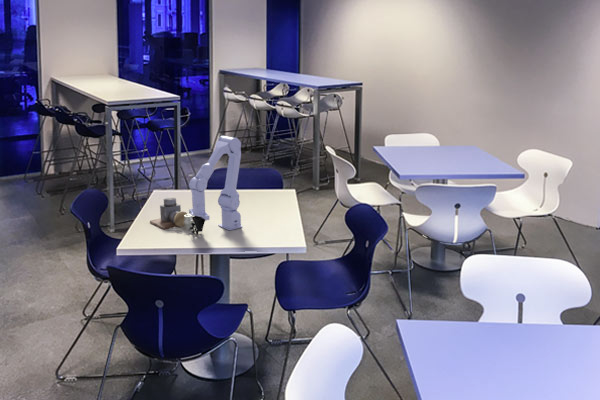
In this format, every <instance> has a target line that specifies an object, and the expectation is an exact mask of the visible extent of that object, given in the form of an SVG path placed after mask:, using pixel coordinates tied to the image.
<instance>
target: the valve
mask: <svg viewBox="0 0 600 400" xmlns="http://www.w3.org/2000/svg"><path fill="white" fill-rule="evenodd" d="M192 217H193V216H192V215H191V214H190V213H187V215H184V219H185V220H184V224H185V225H184V229H185V230H191V233H192V234H194V233H195V234H196V235H198V234H199V232H198V231H197V229H196V225H195V223H194V222H193V221H192Z"/></svg>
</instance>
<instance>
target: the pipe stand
mask: <svg viewBox="0 0 600 400" xmlns="http://www.w3.org/2000/svg"><path fill="white" fill-rule="evenodd" d="M181 207H182V206H181V204H179V203H177V198H176V197H166V198H164V199H163V204H160V205H159V209H160V210H159V212H160V218H157V219H152V220H149V223H150V224H152V225H154V226H155V227H158V228H160V229H162V230H168V229H172V228H177V227H178V228H179V227H180V228H185V226H184V225H185V224H184V220H185V219H184V215H187V214H188V213H187V212H186V211H181V210H182V209H181ZM192 221H193V219H192ZM193 222H194V221H193Z"/></svg>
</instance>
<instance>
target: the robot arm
mask: <svg viewBox="0 0 600 400" xmlns="http://www.w3.org/2000/svg"><path fill="white" fill-rule="evenodd" d="M241 147H242V142H241V140H240V139H239V138H237V137H232V136H226V135H220V136H219V138H218V140H217V141H216V142H215V147H214V150H213V152H212V153H211V154H210V157H209V159H208V160H207V162H206V163H203V164H202V165H201V166H200V169H199V170H198V172H197V173H196V175H195V176H193V178H191V179H190V180H189V183H188V187H189V189H190V190H191V196H192V197H191V201H192V208H189V209H188V214H190V215H192V219H193V221H194V223H195V225H196V230H197V231H198V233H200V232H203V229H204V226H205V222H206V221H209V220H210V215H209V214H208V213H207V212H206V199H205V198H206V197H205V194H206V193H205V191H206V189H207V187H208V182H209V179H210V178H211V176H212V175H213V173H214V172H215V171H214V170H215V169H214V167H215V166H216V165H217V163H218V161H220V159H221V157H222V156H223V155H225V154H227V156H228V163H227V169H226V177H225V182H224V188H223V189H222V190H221V191H220V193H219V196H218V199H217V203H218V205H219V206H220V208H221V223H220V224H218V227H221V228H222V229H224V230H228V231H233V230H236V229H240V228H243V225H242V219H241V213H240V212H239V211H238V208H239V207H240V204H241V203H240V202H241V201H240V194H239V193H238V191H237V186H238V185H237V184H238V178H239V172H240V165H241V158H242V151H241Z"/></svg>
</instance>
